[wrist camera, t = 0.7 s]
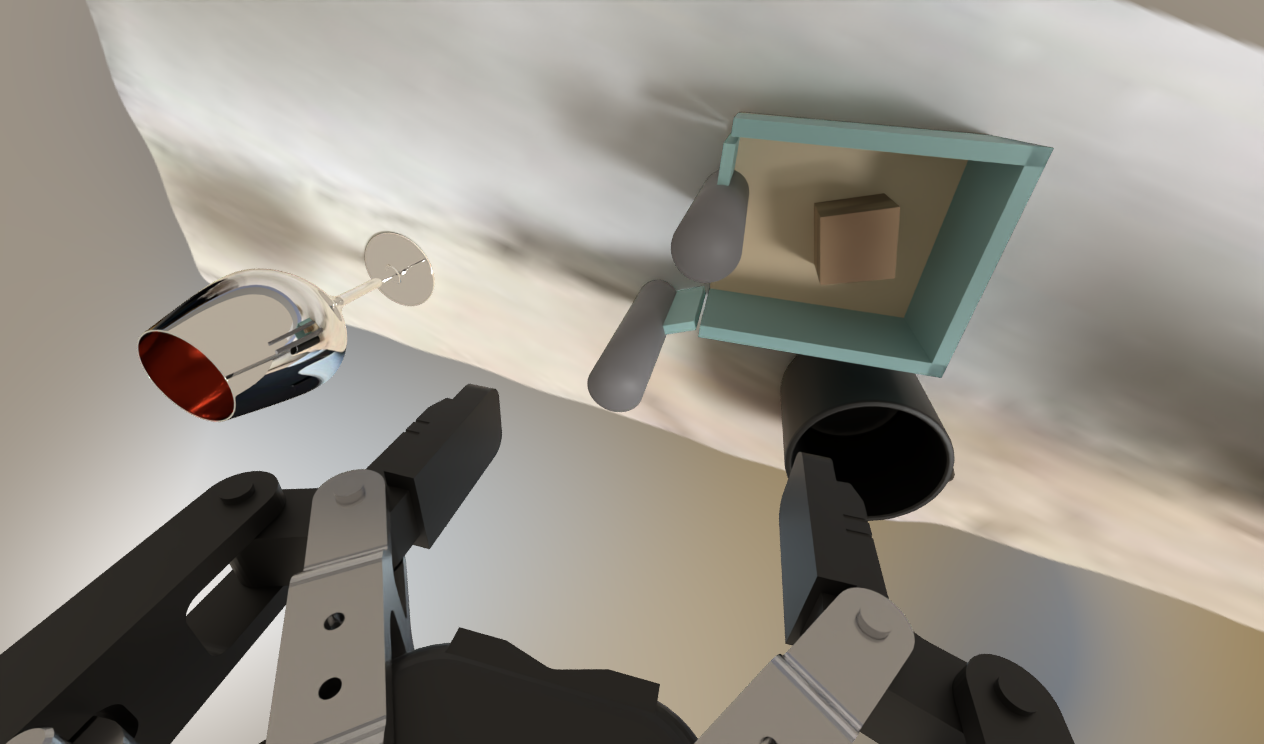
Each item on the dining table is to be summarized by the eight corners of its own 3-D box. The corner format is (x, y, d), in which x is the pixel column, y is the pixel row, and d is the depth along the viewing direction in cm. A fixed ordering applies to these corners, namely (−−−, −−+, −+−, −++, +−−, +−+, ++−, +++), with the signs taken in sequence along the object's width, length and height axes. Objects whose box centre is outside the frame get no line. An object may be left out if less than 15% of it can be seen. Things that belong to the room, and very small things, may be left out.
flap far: (635, 282, 35) (580, 367, 25) (700, 269, 34) (672, 354, 23) (645, 319, 37) (597, 414, 26) (708, 308, 35) (685, 405, 24)
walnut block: (884, 193, 29) (900, 206, 26) (880, 257, 31) (894, 278, 27) (813, 203, 30) (820, 217, 27) (814, 264, 32) (820, 285, 29)
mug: (890, 467, 39) (921, 558, 32) (758, 406, 39) (757, 482, 32) (976, 381, 34) (1037, 466, 26) (823, 311, 34) (841, 375, 26)
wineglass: (457, 312, 41) (283, 440, 26) (381, 317, 44) (179, 438, 28) (423, 215, 37) (194, 301, 22) (341, 227, 40) (83, 312, 25)
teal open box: (990, 135, 27) (1053, 148, 21) (909, 326, 33) (941, 377, 27) (739, 111, 29) (733, 117, 23) (708, 295, 35) (698, 336, 29)
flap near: (760, 136, 29) (759, 164, 18) (744, 219, 31) (735, 287, 21) (710, 131, 29) (681, 156, 19) (699, 213, 32) (667, 277, 21)
